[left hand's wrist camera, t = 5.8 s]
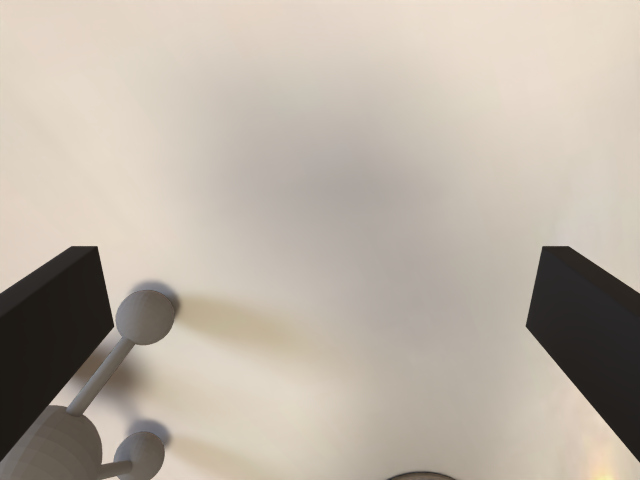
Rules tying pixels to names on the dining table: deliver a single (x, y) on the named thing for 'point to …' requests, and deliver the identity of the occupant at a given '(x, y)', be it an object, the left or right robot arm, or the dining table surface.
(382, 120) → the dining table surface
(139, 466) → the molecular model
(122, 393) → the dining table surface
